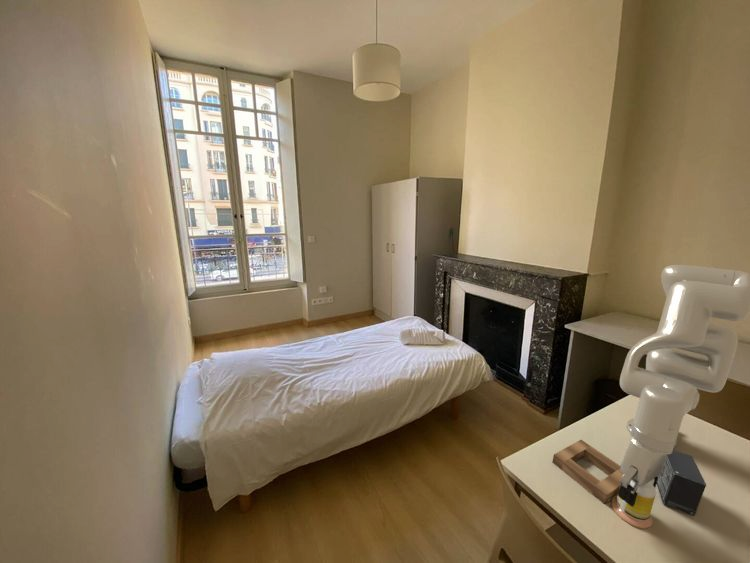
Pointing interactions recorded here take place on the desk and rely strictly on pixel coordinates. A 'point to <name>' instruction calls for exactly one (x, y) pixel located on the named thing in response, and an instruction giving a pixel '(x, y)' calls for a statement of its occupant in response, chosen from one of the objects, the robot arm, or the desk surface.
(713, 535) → the desk surface
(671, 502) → the small box
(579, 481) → the pocket holder
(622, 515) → the coaster
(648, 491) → the pill bottle
